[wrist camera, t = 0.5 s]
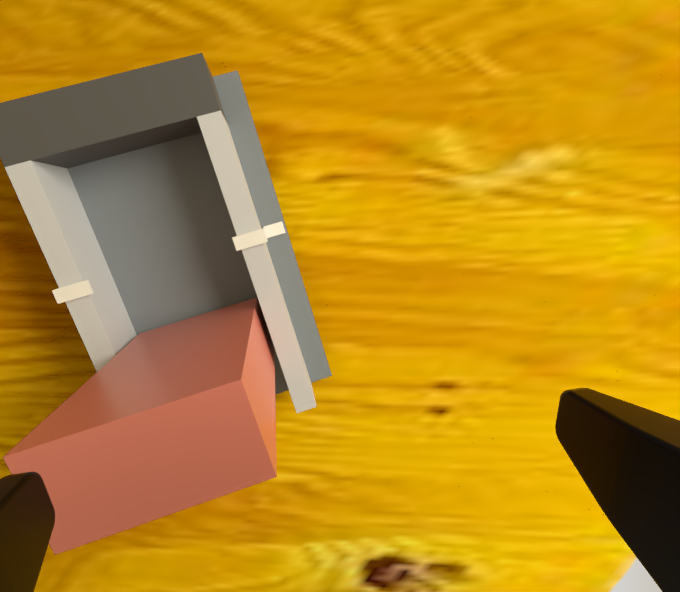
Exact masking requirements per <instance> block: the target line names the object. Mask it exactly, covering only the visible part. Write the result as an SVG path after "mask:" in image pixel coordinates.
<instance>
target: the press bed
mask: <svg viewBox="0 0 680 592" xmlns="http://www.w3.org/2000/svg"><path fill="white" fill-rule="evenodd" d="M0 158H1V160H2V163H3V165H4V167H5V169H6V172H7V174H8V176H9V178H10V180H11V183H12V185H13V187H14V189H15V192H16V194H17V196H18V198H19V200H20V203H21V205H22V207H23V209H24V212H25V214H26V216H27V218H28V220H29V223H30V225H31V227H32V229H33V232H34V234H35V236H36V238H37V240H38V243H39V245H40V247H41V249H42V252H43V254H44V256H45V258H46V260H47V263H48V265H49V267H50V269H51V271H52V274H53V276H54V278H55V280H56V283H57V285H58V287H59V288H58V289H54V290H52V292H53V294H54V297H55V299H56V301H57V303H58V304H60V303H63V302H65V303H66V305H67V307H68V309H69V311H70V314H71V316H72V318H73V320H74V323H75V325H76V327H77V329H78V331H79V334H80V336H81V338H82V340H83V343H84V345H85V347H86V349H87V351H88V354H89V356H90V358H91V360H92V363H93V365H94V367H95V369H96V371H97V372H98V371H99V370H100V369H101V368H102V367H103V366H104V365H105V364H107V363H108V362H109V361H110V360H111V359H112V358H113V357H114V356H115V355H117V354H118V353H119V352H120V351H121V350H122V349H123V348H124V347H125V346H127V345H128V344H129V343H130V342H131V341H132V340H133V339H134V338H135V337H137V336H138V335H139V334H140V333H143V332H146V331H149V330H152V329H156V328H159V327H162V326H165V325H169V324H172V323H175V322H178V321H182V320H185V319H188V318H191V317H194V316H198V315H201V314H204V313H207V312H211V311H214V310H217V309H220V308H224V307H227V306H230V305H233V304H237V303H240V302H243V301H246V300H250V299H253V298H256V297H257V300H258V303H259V306H260V309H261V312H262V315H263V318H264V321H265V324H266V327H267V330H268V332H269V335H270V338H271V341H272V344H273V347H274V350H275V394H278V393H281V392H284V391H287V390H289V392H290V395H291V398H292V400H293V403H294V406H295V409H296V412H297V413H299V412H302V411H305V410H308V409H311V408H314V407H317V406H316V401H315V397H314V393H313V388H312V384H311V382H314V381H317V380H320V379H323V378H326V377H329V376H332V374H331V371H330V368H329V365H328V361H327V358H326V355H325V352H324V349H323V345H322V342H321V339H320V336H319V332H318V329H317V326H316V323H315V319H314V316H313V313H312V310H311V307H310V303H309V300H308V297H307V294H306V290H305V287H304V284H303V281H302V277H301V274H300V271H299V268H298V264H297V261H296V258H295V255H294V252H293V248H292V245H291V242H290V239H289V235H288V232H287V229H286V226H285V222H284V219H283V216H282V213H281V209H280V206H279V203H278V200H277V197H276V193H275V190H274V187H273V184H272V180H271V177H270V174H269V171H268V167H267V164H266V161H265V158H264V154H263V151H262V148H261V145H260V142H259V138H258V135H257V132H256V129H255V125H254V122H253V119H252V116H251V112H250V109H249V106H248V103H247V99H246V96H245V93H244V90H243V87H242V83H241V80H240V77H239V74H238V71H234V72H230V73H226V74H222V75H218V76H214V77H212V75H211V72H210V70H209V68H208V66H207V63H206V61H205V59H204V56H203V54H202V53H200V54H196V55H192V56H188V57H184V58H180V59H176V60H172V61H168V62H164V63H159V64H155V65H151V66H147V67H143V68H139V69H135V70H131V71H127V72H123V73H119V74H115V75H111V76H107V77H103V78H99V79H95V80H91V81H87V82H83V83H79V84H75V85H71V86H67V87H63V88H59V89H55V90H51V91H47V92H43V93H39V94H35V95H31V96H27V97H23V98H19V99H15V100H11V101H7V102H3V103H0Z"/></svg>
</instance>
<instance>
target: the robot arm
mask: <svg viewBox="0 0 680 592" xmlns="http://www.w3.org/2000/svg"><path fill="white" fill-rule="evenodd" d="M555 428H556V434H557V437H558V439H559V441H560V443H561V445H562V446H563V448H564V449H565V451H566V453H567V454H568V456H569V457H570V459H571V461H572V462H573V464H574V465H575V467H576V469H577V470H578V472H579V474H580V475H581V477H582V478H583V480H584V482H585V483H586V485H587V486H588V488H589V490H590V491H591V493H592V494H593V496H594V498H595V499H596V501H597V502H598V504H599V506H600V507H601V509H602V510H603V512H604V513H605V515H606V516H607V518H608V519H609V520H610V522H611V523H612V525H613V526H614V527H615V529H616V530H617V531H618V533H619V534H620V535H621V537H622V538H623V539H624V541H625V542H626V543H627V545H628V546H629V547H630V549H631V550H632V551H633V553H634V554H635V555H636V557H637V558H638V559H639V561H640V562H641V563H642V565H643V566H644V567H645V569H646V570H647V571H648V573H649V574H650V576H651V577H652V578H653V579H654V581H655V582H656V584H657V585H658V586H659V588H660V589H661V590H662V592H680V421H679V420H676V419H674V418H671V417H668V416H665V415H662V414H659V413H657V412H654V411H651V410H648V409H645V408H642V407H640V406H637V405H634V404H631V403H628V402H625V401H623V400H620V399H617V398H614V397H611V396H608V395H606V394H603V393H600V392H597V391H594V390H591V389H588V388H577V389H570V390H566V391H564V392H563V393H562V394H561V396H560V401H559V407H558V413H557V419H556V425H555ZM54 524H55V510H54V506H53V504H52V501H51V499H50V496H49V494H48V491H47V489H46V486H45V484H44V481H43V479H42V477H41V475H40V474H38V473H37V472H25V473H18V474H12V475H8V476H5V477H3V478H2V479H0V592H34V589H35V586H36V582H37V579H38V576H39V573H40V570H41V566H42V563H43V560H44V557H45V554H46V550H47V547H48V544H49V541H50V538H51V534H52V531H53V528H54Z"/></svg>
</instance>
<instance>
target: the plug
mask: <svg viewBox="0 0 680 592" xmlns="http://www.w3.org/2000/svg"><path fill="white" fill-rule="evenodd" d="M3 459H4V461H5V462H6V464H7V466H8V468H9V470H10V472H11V474H18V473H25V472H37V473H38V474H40V475H41V477H42V479H43V481H44V484H45V486H46V489H47V491H48V494H49V496H50V499H51V501H52V504H53V506H54V510H55V524H54V528H53V531H52V534H51V538H50V541H49V545H50V547H51V548H52V550H53V552H54V554H55V555H56V554H59V553H61V552H64V551H67V550H70V549H73V548H76V547H78V546H81V545H84V544H87V543H90V542H93V541H95V540H98V539H101V538H104V537H107V536H110V535H113V534H115V533H118V532H121V531H124V530H127V529H130V528H132V527H135V526H138V525H141V524H144V523H147V522H149V521H152V520H155V519H158V518H161V517H164V516H166V515H169V514H172V513H175V512H178V511H181V510H184V509H186V508H189V507H192V506H195V505H198V504H201V503H203V502H206V501H209V500H212V499H215V498H218V497H220V496H223V495H226V494H229V493H232V492H235V491H237V490H240V489H243V488H246V487H249V486H252V485H255V484H257V483H260V482H263V481H266V480H269V479H272V478H274V477H277V470H276V409H275V350H274V347H273V344H272V341H271V338H270V335H269V332H268V330H267V327H266V324H265V321H264V318H263V315H262V312H261V309H260V306H259V303H258V300H257V297H256V298H253V299H250V300H246V301H243V302H240V303H237V304H233V305H230V306H227V307H224V308H220V309H217V310H214V311H211V312H207V313H204V314H201V315H198V316H194V317H191V318H188V319H185V320H182V321H178V322H175V323H172V324H169V325H165V326H162V327H159V328H156V329H152V330H149V331H146V332H143V333H140V334H139V335H138V336H137V337H135V338H134V339H133V340H132V341H131V342H130V343H129V344H128V345H127V346H125V347H124V348H123V349H122V350H121V351H120V352H119V353H118V354H117V355H115V356H114V357H113V358H112V359H111V360H110V361H109V362H108V363H107V364H105V365H104V366H103V367H102V368H101V369H100V370H99V371H98V372H97V373H96V374H94V375H93V376H92V377H91V378H90V379H89V380H88V381H87V382H86V383H84V384H83V385H82V386H81V387H80V388H79V389H78V390H77V391H76V392H74V393H73V394H72V395H71V396H70V397H69V398H68V399H67V400H66V401H64V402H63V403H62V404H61V405H60V406H59V407H58V408H57V409H56V410H55V411H53V412H52V413H51V414H50V415H49V416H48V417H47V418H46V419H45V420H43V421H42V422H41V423H40V424H39V425H38V426H37V427H36V428H35V429H33V430H32V431H31V432H30V433H29V434H28V435H27V436H26V437H25V438H23V439H22V440H21V441H20V442H19V443H18V444H17V445H16V446H15V447H13V448H12V449H11V450H10V451H9V452H8V453H7V454H6V455H5V456H4V457H3Z"/></svg>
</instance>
